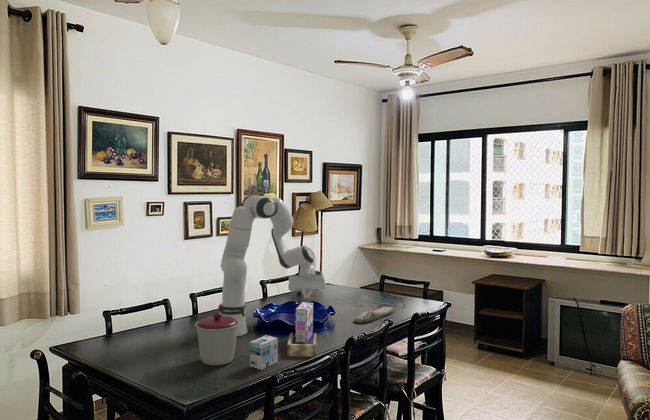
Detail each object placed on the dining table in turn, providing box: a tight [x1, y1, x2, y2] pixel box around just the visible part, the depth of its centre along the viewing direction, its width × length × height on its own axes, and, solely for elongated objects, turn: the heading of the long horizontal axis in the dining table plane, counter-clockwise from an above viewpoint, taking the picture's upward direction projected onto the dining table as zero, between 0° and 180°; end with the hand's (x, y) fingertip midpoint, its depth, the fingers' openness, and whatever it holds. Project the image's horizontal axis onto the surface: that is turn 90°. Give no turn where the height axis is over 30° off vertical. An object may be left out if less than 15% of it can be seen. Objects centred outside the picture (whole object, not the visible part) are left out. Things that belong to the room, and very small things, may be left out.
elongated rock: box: [353, 306, 395, 324], centre depth 271 cm, size 35×5×10 cm
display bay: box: [286, 332, 318, 358], centre depth 216 cm, size 12×17×5 cm
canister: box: [194, 311, 239, 367], centre depth 200 cm, size 18×18×21 cm
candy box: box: [294, 301, 314, 344], centre depth 231 cm, size 14×6×16 cm, turn 168°
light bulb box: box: [249, 334, 279, 371], centre depth 197 cm, size 11×7×11 cm, turn 148°
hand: (306, 297), depth 254 cm, fingers closed
